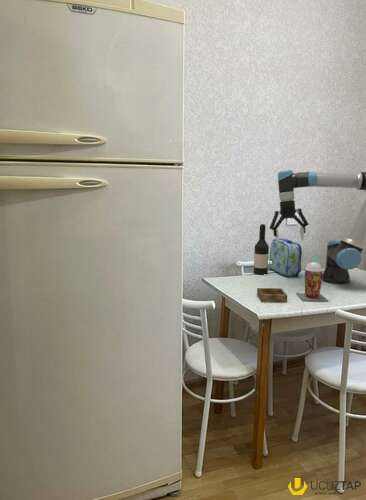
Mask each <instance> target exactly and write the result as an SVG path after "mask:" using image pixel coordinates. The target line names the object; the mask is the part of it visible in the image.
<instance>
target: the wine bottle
mask: <svg viewBox="0 0 366 500" xmlns="http://www.w3.org/2000/svg"><path fill="white" fill-rule="evenodd" d="M266 227H267V225H266V224H265V223H260V225H259V235H258V237H259V239H258V241H257V242H256V243H255V245H254V255H253V256H254V257H253V274H255V275H258V276H265V275H264V274H266V275H268V269H269V255H270V247H269V244H268V243H267V241H266Z"/></svg>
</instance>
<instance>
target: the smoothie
mask: <svg viewBox="0 0 366 500" xmlns="http://www.w3.org/2000/svg"><path fill="white" fill-rule="evenodd" d="M323 272H324V269H323V267H322V265H321V264H320V263H319V262H317V261H316V256H313V261H311V262H309V263H308V264H307V265H306V267H305V268H304V293H305V294H306V297H308V298H318V295H320V294H321V286H322V281H323V280H322V274H323Z"/></svg>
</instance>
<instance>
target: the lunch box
mask: <svg viewBox="0 0 366 500" xmlns="http://www.w3.org/2000/svg"><path fill="white" fill-rule="evenodd" d="M302 253H303V250H302V245H300V244H299V243H297V242H295V241H292V240H290V239H288V238H279V243H277V242H276V238H274V239H272V241H271V245H270V247H269V262H270V261H272V264H270V263H269V267H270V269H271V270H273V271H274V272H276V273H277V274H280V275H281V276H283V277H299V275H300V273H301V272H302V255H303V254H302Z"/></svg>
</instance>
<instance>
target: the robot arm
mask: <svg viewBox="0 0 366 500" xmlns="http://www.w3.org/2000/svg"><path fill="white" fill-rule="evenodd" d="M277 183H278V184H277V185H278V197H279V201H280V202H279V208H280V209H279V210H275V211H274V213H273V214H274V216H273V218H272V220H271V222H270V226H269V229H270V230H272V232H273V236H274V237H275V239H276V242H277V243H279V239H280V238H279V237H280V236H279V229H278V228H279V227H280V225H281V224H282V222H283V221H284V220H285V219H286V220H287V219H294V220H295V222H297V223H298V224H299V226H301V227H299V231H300V240H302V241H304V240H305V234H306V227H307V226H309V222H308V221H307V219H306V217H305V215H304V214H303V211H302V210H303V209H302V208H297V209H296V203H295V190H294V189H298V188H308V187H310V188H312V187H314V188H340V189H341V188H343V189H345V188H346V189H356V190H357V191H365V193H366V171H359V172H357V173H339V172H338V173H336V172H334V173H333V172H330V173H327V172H317V171H305V172H295V173H294V172H293V170H292V169H286V170H280V171H279V172H277ZM296 214H298V215H299V218H298V216H297V215H296ZM279 215H280V217H279ZM278 217H279V219H278ZM277 219H278V221H277ZM365 240H366V197H365V198H364V200H363V203H362V205H361V207H360V208H359V210H358V213H357V215H356V216H355V219H354V221H353V223H352V224H351V227H350V229H349V231H348V233H347V235H346V237H345V238H342V239H341V240H329V241H327V246H326V259H325V267H324V269H323V273H322V280H321V281H322V282H323V281H324V282H326V283H329V284H337V285H338V284H339V285H340V284H341V285H342V284H345V285H346V284H349V283H350V282H351V277H350V273H349V270H353V269H355V268H357V267H359V266H360V264H361V262H362V255H361V254H362V253H363V251H364V246H363V244H364V242H365Z"/></svg>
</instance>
